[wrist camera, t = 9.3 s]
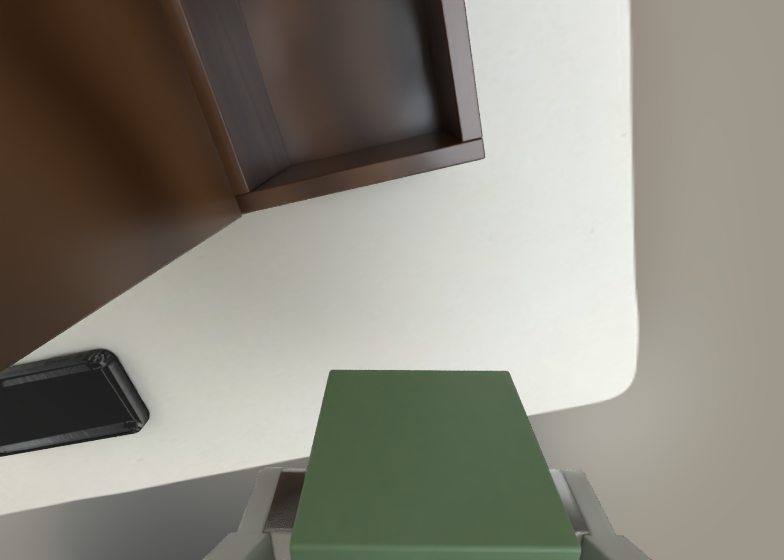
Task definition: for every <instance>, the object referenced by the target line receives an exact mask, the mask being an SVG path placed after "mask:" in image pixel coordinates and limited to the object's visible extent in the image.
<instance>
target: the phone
mask: <svg viewBox="0 0 784 560" xmlns="http://www.w3.org/2000/svg"><path fill="white" fill-rule="evenodd" d="M148 419H149V413H148V411H147V409H146V407H145V406H144V404H143V402H142V401H141V399H140V397H139V395H138V394H137V392H136V390H135V389H134V387H133V385H132V383H131V382H130V380H129V378H128V377H127V375H126V373H125V372H124V370H123V368H122V366H121V365H120V363H119V361H118V360H117V358H116V357H115V356H114V355H113V354H112V353H110V352H108V351H105V350H94V351H89V352H84V353H79V354H74V355H69V356H64V357H59V358H54V359H49V360H44V361H38V362H33V363H28V364H23V365H18V366H13V367H8V368H6V369H5V370H3V371H2V372H0V457H2V456H8V455H14V454H19V453H25V452H31V451H37V450H42V449H48V448H54V447H59V446H65V445H71V444H77V443H82V442H88V441H94V440H100V439H105V438H111V437H117V436H123V435H128V434H134V433H137V432H139V431H140V430H141V429H142V428H143V426H144V425H145V424H146V423H147V421H148Z"/></svg>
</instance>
